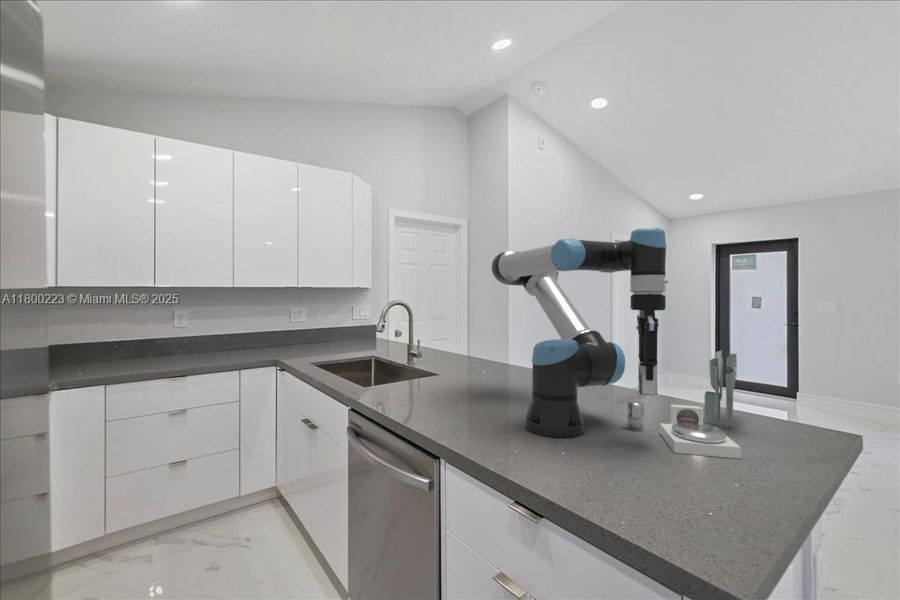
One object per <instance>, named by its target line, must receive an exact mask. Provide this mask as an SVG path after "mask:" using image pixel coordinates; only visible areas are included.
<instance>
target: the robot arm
mask: <svg viewBox="0 0 900 600" xmlns="http://www.w3.org/2000/svg"><path fill="white" fill-rule="evenodd" d="M630 233H631V234H630V238H629V240H625V241H624V240H623V241H618V242H613V241H599V240H597V241H596V240H587V239H585V240H583V239H576V238H561V239H558V240H557V241H556V242H555V243H554V244H551V245H550V244H549V245H546V246H540V247H536V248H533V249H532V248H531V249H528V250H524V251H523V250H522V251H514V250H509V251H504V252H499V254H497V255H496V256H495V257H494V258H493V260H492V262H491V272H492V275H493V276H494V278H495V279H496V280H497V281H498V282H500V283H501V284H503V285H507V286H522V287H523V288H524V289H525V291H526V293H527V294H528V295H530V296H532V297H535V299H536V300H537V302H538V303H539V305H540V307H541V309H542V310H543V312H544V313H545V315H546V317H547V318H548V320H549V321H550V323H551V324H552V326H553V327H554V329H555V330H556V333H557V334H558V335H559V337H560V338H559V339H556V338H555V339H547V340H544V341H543V340H542V341H539V342H538V343H536V344H535V345H534V347H533V350H532V359H531V363H532V381H531V382H532V384H531V386H532V393H531V394H532V398H531V400H530V404H529V406H528V409H527V413H526V415H525V428H526V429H527V430H528V431H530V432H531V433H534V434H537V435H541V436H545V437H552V438H573V437H577V436H580V435H583V433H584V432H585V422H584V418H583V415H582V413H581V409H580V406H579V403H578V388H585V387H593V386H594V387H595V386H602V387H603V386H607V385H611V384H615V383H616V382H618V381H620V379H621V378H622V377H623V375H624V373H625V369H626V366H625V365H626V358H625V357H626V356H625V354H624V351H623V349H622V348H621V346H620V345H618V344H617V343H615V342H611V341H608V342H607V341H606V340H605V339H604V337H603V336H602V335H601V333H600V332H599V331H597V330H595V329H591V328H590V326H589V325H588V324H587V322H586V321H585V320H584V319H583V317H582V316H581V314H580V313H579V311H578V310H577V308H576V307H575V305H574V304H573V303H572V301H571V300H570V298H569V297H568V295H566V293H565V291H564V290H563V289H562V287H561V286H560V284H559V283H558V280H559V279H558V278H559V273H562V272H571V271H593V272H600V273H609V274H610V273H611V274H612V273H615V272H625V271H630V277H629V278H630V280H629V281H630V282H629V283H630V284H629V285H630V288H629V290H630V293H632V294H631V296H630V309H631V310H632V311H640V317H638V318H637V325H638V358H639V363H640V366H642V394H641V395H643V394H653V395H652V396H656V395H655V374H656V367H655V366H656V365H657V366H658V330H659V329H658V328H659V319H658V318H656V312H655V311H665V310H666V305H667V304H666V302H667V301H666V298H667V297H666V295H665V294H663V293H665V292H666V284H668V283H669V280H668V279H666V260H667V259H666V256H667V242H666V241H667V240H666V232H665V229H663V228H660V227H642V228H636V229H634V230H632V231H631V232H630Z"/></svg>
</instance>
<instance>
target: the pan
mask: <svg viewBox="0 0 900 600" xmlns="http://www.w3.org/2000/svg"><path fill="white" fill-rule="evenodd" d="M716 428H717V427H712V426H708V425H704V424H703V425H699V424H691V423H679V424H674V425H672V433H673V434H675V435H677V436H679V437H682V438H685V439H688V440H692V441H698V442H705V443H721V442H724V441H726V436H727V434H726V432H725V431H723V430H721V429H719V428H717V429H716Z"/></svg>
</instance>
